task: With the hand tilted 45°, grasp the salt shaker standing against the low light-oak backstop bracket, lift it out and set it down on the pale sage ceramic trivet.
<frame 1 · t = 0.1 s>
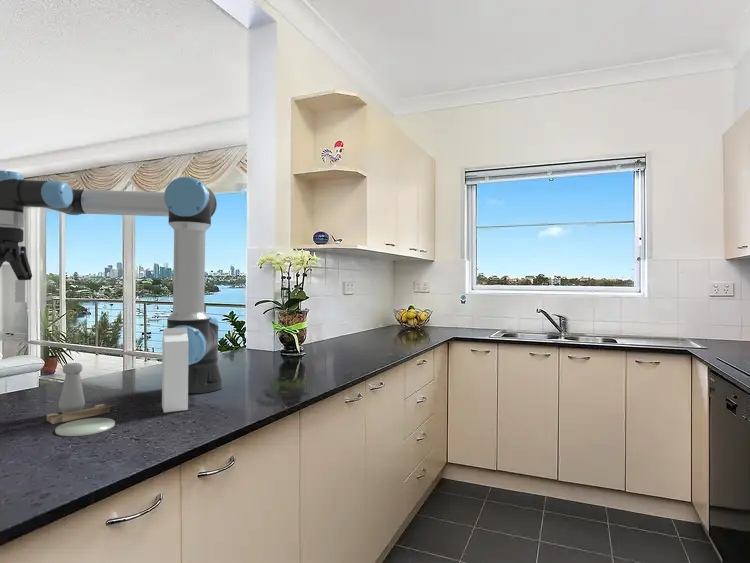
hand: (6, 303, 132), 28 cm above the counter, tool pointing down, fingers open, 13 cm apart
salt shaker: (71, 414, 123), on the counter
milk: (174, 409, 129), on the counter, touching arm
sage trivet: (85, 427, 112), on the counter
oak holder: (71, 413, 123), on the counter
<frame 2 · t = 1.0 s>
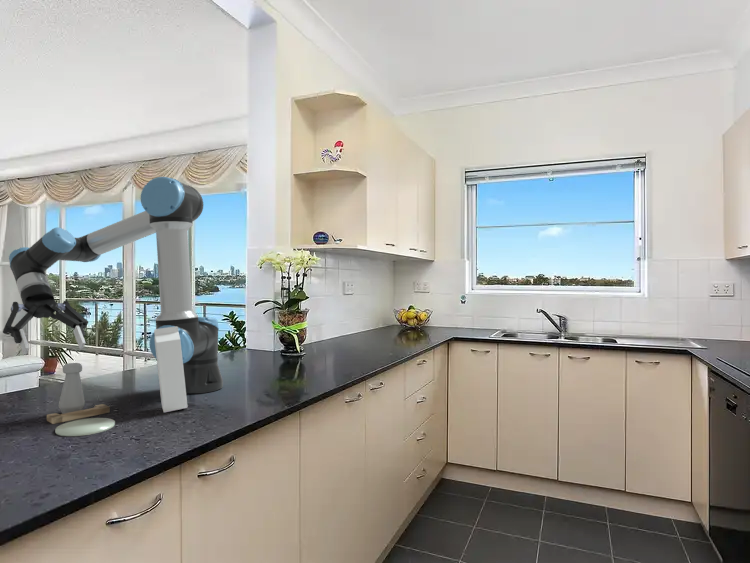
hand: (55, 348, 129), 16 cm above the counter, tool tilted 45°, fingers open, 13 cm apart
milk: (174, 408, 129), on the counter
everything else where it was.
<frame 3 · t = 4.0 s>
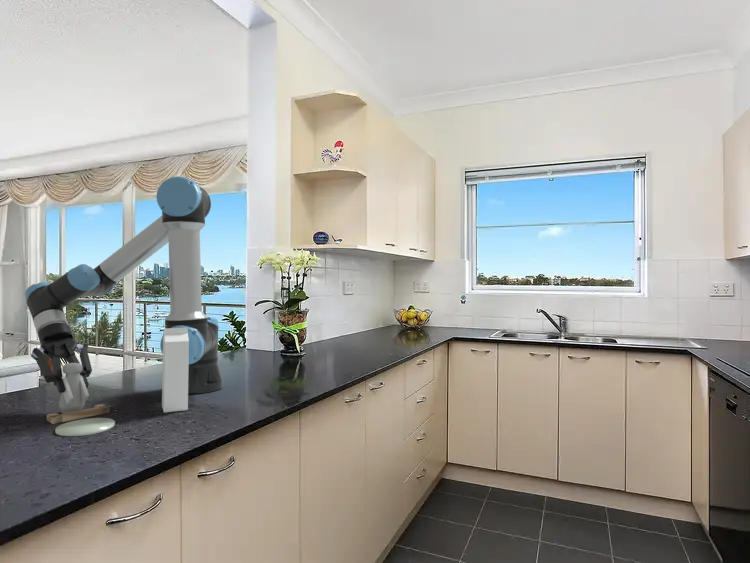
hand: (78, 399, 121), 4 cm above the counter, tool tilted 45°, fingers closed on salt shaker, 3 cm apart
salt shaker: (71, 414, 123), on the counter, touching gripper
milk: (174, 409, 129), on the counter, touching arm
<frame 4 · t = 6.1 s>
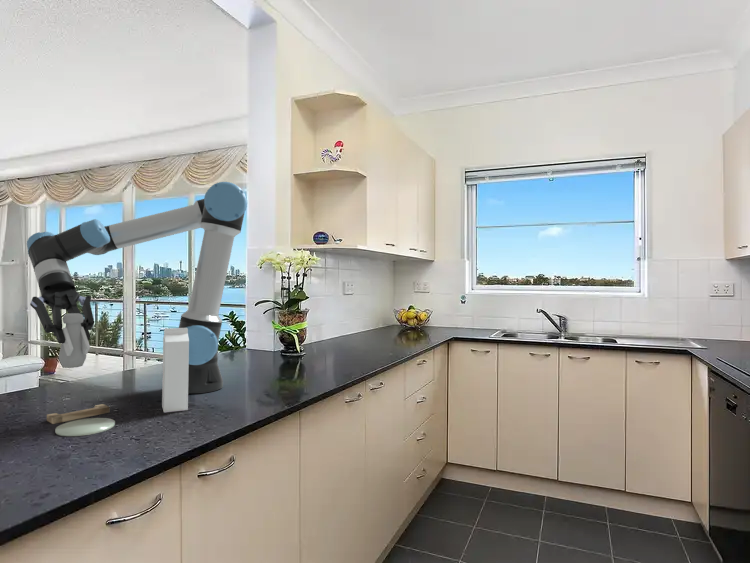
hand: (78, 351, 113), 18 cm above the counter, tool tilted 45°, fingers closed on salt shaker, 3 cm apart
salt shaker: (72, 367, 116), point 13 cm above the counter, touching gripper
milk: (174, 409, 129), on the counter
when the fingers open (5 cm above the counter, at t = 8.6 s): salt shaker stays where it is, resting on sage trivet.
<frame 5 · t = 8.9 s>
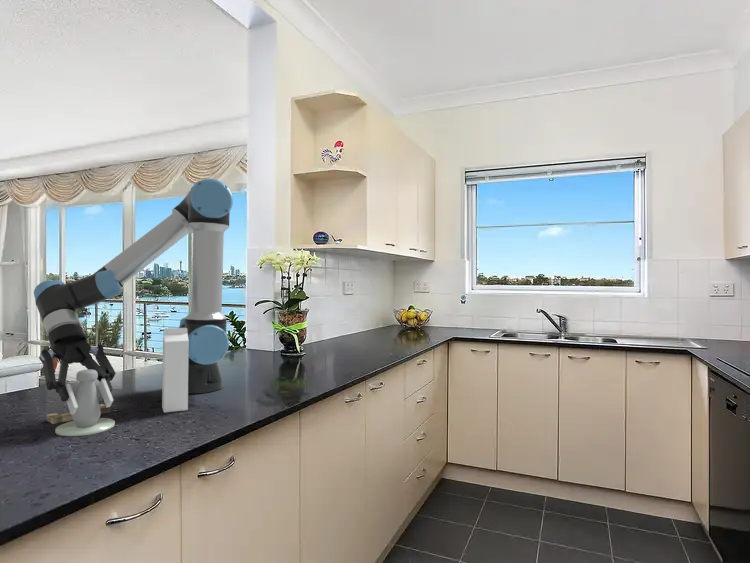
hand: (92, 407, 109), 5 cm above the counter, tool tilted 45°, fingers open, 7 cm apart
salt shaker: (86, 425, 112), resting on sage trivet
everything else where it was.
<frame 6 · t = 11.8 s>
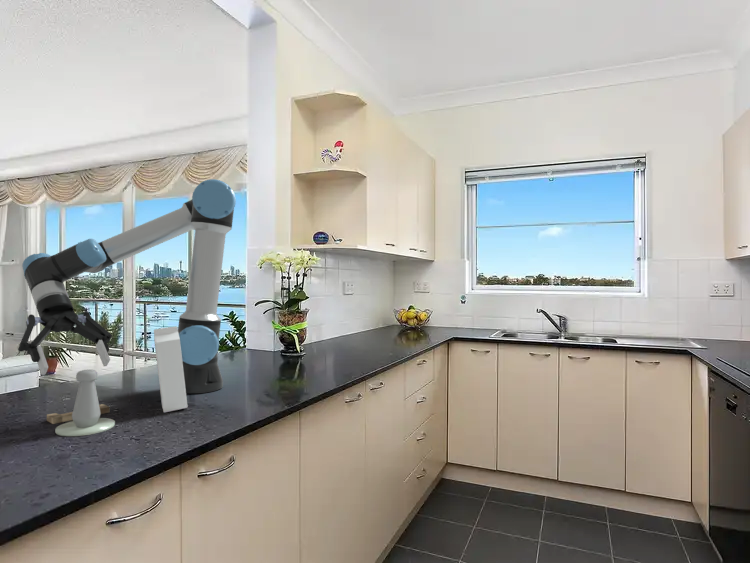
hand: (77, 367, 114), 14 cm above the counter, tool tilted 45°, fingers open, 13 cm apart
milk: (174, 408, 129), on the counter, touching arm
everything else where it was.
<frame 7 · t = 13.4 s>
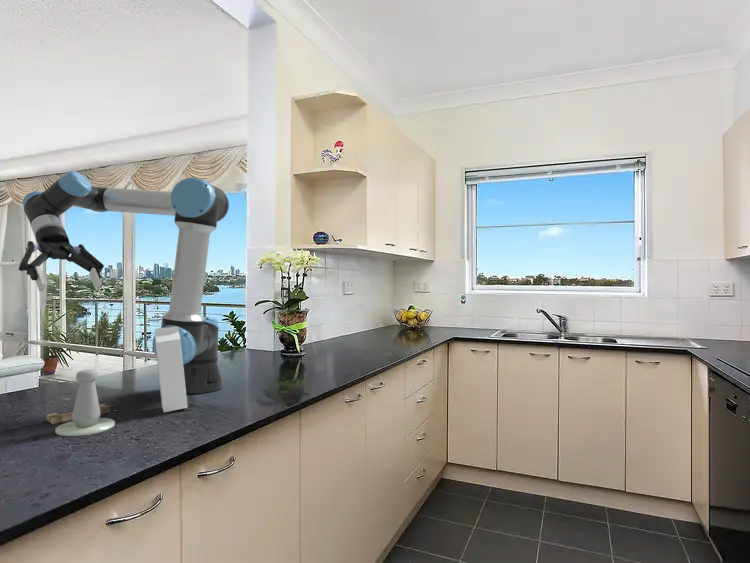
hand: (72, 287, 127), 33 cm above the counter, tool tilted 45°, fingers open, 13 cm apart
milk: (174, 408, 129), on the counter
everything else where it was.
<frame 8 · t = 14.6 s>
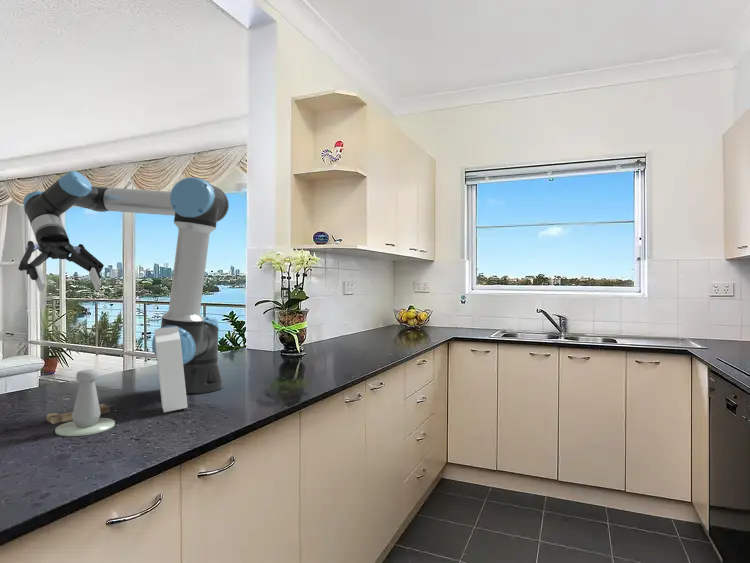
hand: (71, 287, 127), 33 cm above the counter, tool tilted 45°, fingers open, 13 cm apart
milk: (174, 408, 129), on the counter, touching arm
everything else where it was.
at the end: salt shaker 0.1 cm from the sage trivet (horizontally); salt shaker tilted 0°; salt shaker resting on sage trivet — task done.
